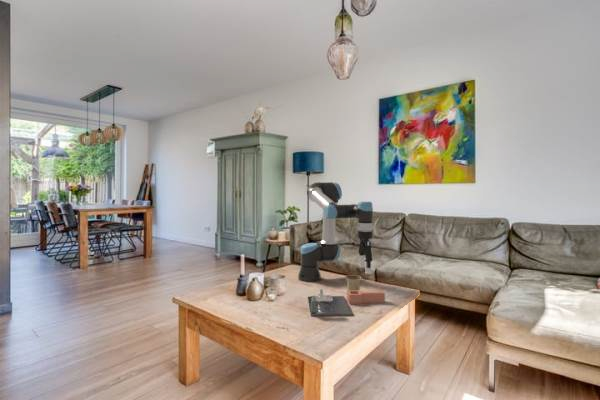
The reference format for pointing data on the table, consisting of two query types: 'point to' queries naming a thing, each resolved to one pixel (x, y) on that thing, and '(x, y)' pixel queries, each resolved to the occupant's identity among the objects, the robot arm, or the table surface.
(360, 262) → the robot arm
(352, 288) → the flower pot
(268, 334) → the table surface
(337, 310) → the pintle base
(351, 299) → the link
